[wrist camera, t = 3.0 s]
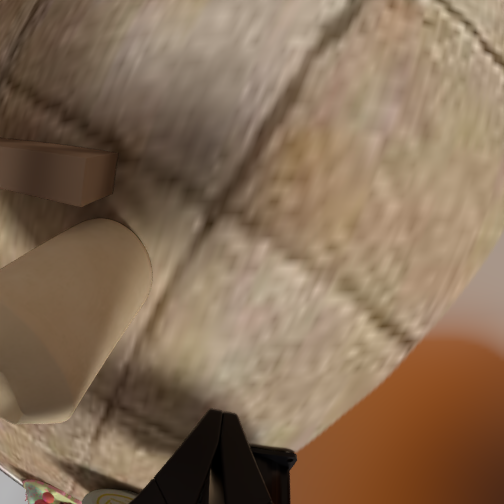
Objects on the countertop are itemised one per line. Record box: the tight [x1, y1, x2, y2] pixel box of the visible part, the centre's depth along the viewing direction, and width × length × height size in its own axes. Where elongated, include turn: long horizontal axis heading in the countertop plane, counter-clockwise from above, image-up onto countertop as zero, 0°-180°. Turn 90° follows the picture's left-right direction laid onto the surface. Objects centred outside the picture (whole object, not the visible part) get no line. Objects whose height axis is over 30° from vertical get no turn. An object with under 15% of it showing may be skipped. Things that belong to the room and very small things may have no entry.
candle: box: [0, 218, 152, 424], centre depth 11 cm, size 6×6×10 cm
